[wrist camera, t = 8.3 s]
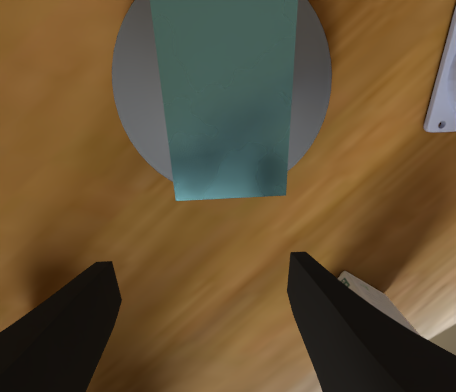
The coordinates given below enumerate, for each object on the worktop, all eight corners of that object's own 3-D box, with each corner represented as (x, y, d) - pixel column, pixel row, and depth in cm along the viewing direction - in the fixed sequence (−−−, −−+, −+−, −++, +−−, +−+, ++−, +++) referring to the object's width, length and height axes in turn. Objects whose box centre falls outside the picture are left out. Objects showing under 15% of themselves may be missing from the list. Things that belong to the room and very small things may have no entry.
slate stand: (334, -36, 14) (346, -50, 13) (311, 182, 19) (319, 189, 18) (98, -30, 14) (85, -43, 12) (140, 191, 19) (134, 199, 17)
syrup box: (343, 267, 23) (529, 525, 9) (387, 293, 24) (600, 547, 11) (303, 307, 24) (409, 573, 11) (345, 329, 26) (485, 586, 12)
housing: (263, 161, 17) (286, 195, 11) (188, 165, 17) (175, 200, 11) (266, 18, 13) (299, -28, 8) (174, 20, 13) (146, -25, 8)
